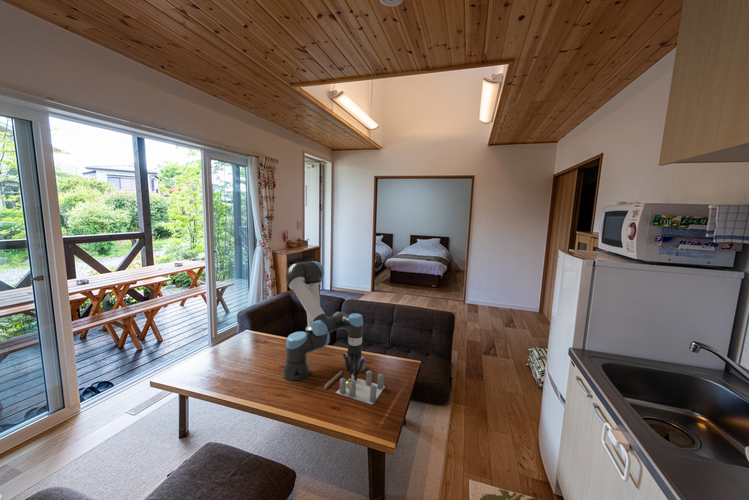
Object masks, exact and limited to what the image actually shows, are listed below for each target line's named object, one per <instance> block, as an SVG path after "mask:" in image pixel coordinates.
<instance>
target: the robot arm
mask: <svg viewBox="0 0 749 500" xmlns="http://www.w3.org/2000/svg"><path fill="white" fill-rule="evenodd" d="M324 275H325V270H324V267H323V265H322V264H321V263H320V262H319V261H316V260H315V261H304V262H295V263H292V264H291V265H290V266H289V267H288V268H287V270H286V272H285V280H286V284H287V286H288V288H290V290H293V293H294V294H295V295H296V297H297V299H298V300H299V301H300V303H301V305H302V307H303V308H304V310H305V312H306V318H307V319H306V320H307V325H306V327H305V331H295V332H293V333H290V334H288V336H287V338H286V343H285V351H286V352H285V359H286V360H285V365H284V367H283V371H282V376H283V377H284V378H285V379H286V380H288V381H298V380H299V381H300V380H303V379H305V378H307V377H308V376H309V375H310V370H311V369H310V365H309V362H308V354H310V353H313V352H316V351H317V350H321V349H324V348H325V347H327V345H329V343H330V340H331V339H330V338H331V337H330V333H332V332H334V331H338V330H340V329H343V330H345V331H347V333H348V334H347V351H346V352H344V353H343V354H342V356H343V358H344V363H345V368H346V372H347V373H349V378H350V379H351V381H355V382H356V380H357V378H358V376H359V375H360V374H361V373H362V371H363V370H362V367H363V364H364V361H365V360H366V359H367V357H365V356H364V355H363V353H362V351H363V350H362V349H363V331H364V330H363V328H364V327H363V325H364V319H363V318H364V317H363V314H360V313H350V314H347V313H345V312H341V311H336V312H335V313H334V314H332V315H331V316H330V317H328V316H327V315H326V313H325V312H324V310H323V308H322V307H321V298H320V284H321V283H322V279H323V278H324ZM363 356H364V357H363ZM360 358H361V362H360V365H359V369H358V361H359V359H360ZM366 361H367V360H366Z"/></svg>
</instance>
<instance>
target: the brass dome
mask: <svg viewBox="0 0 749 500" xmlns="http://www.w3.org/2000/svg"><path fill="white" fill-rule="evenodd" d="M350 382H351V380H350V379H348V378H347V379H346V388H350Z"/></svg>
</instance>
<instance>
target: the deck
mask: <svg viewBox="0 0 749 500" xmlns="http://www.w3.org/2000/svg"><path fill="white" fill-rule="evenodd" d="M365 371H366V372H365V380H364V379H360V378H358V377H357V380H356V382H355V381H351V382H350V388H346V380H347V379H346V377H341V378H340V379H339V389H338V390H337V391H335V394H339V395H341V396H344V397H346V398H351V399H354V400H356V401H359V402H362V403H366V404H369V405H373V404H374V403H376V402H377V399H378V397H379V396H380V395H381V393H382V392H383V390H384V389H386V386H384V385H385V384H384V382H385V381H384V380H385V375H384V374H383V373H378V374H377V383H374V382H373V381H372V379H373V370H365ZM342 374H343V370H339V372H338V373H336V374H335V375H334V376H333V377H332V378H331V379H329V381H328V382H327V383H325V384H324V386H323V387H324V388H323V390H327V389H328V388H329V387H330V386H331V385H332V384H333V383H334V382H335V381H336V380H337V379H338V378H339V377H340V376H342ZM349 379H350V377H349ZM350 380H351V379H350Z"/></svg>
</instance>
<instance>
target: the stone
mask: <svg viewBox="0 0 749 500" xmlns="http://www.w3.org/2000/svg"><path fill="white" fill-rule="evenodd" d="M362 356H363V357H365V356H364V355H362ZM360 362H361V358H360V359H359V361H358V369H359V365H360ZM367 365H368V364H367V360H365V361H364V364H363V367H362V371H366V369H367Z"/></svg>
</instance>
